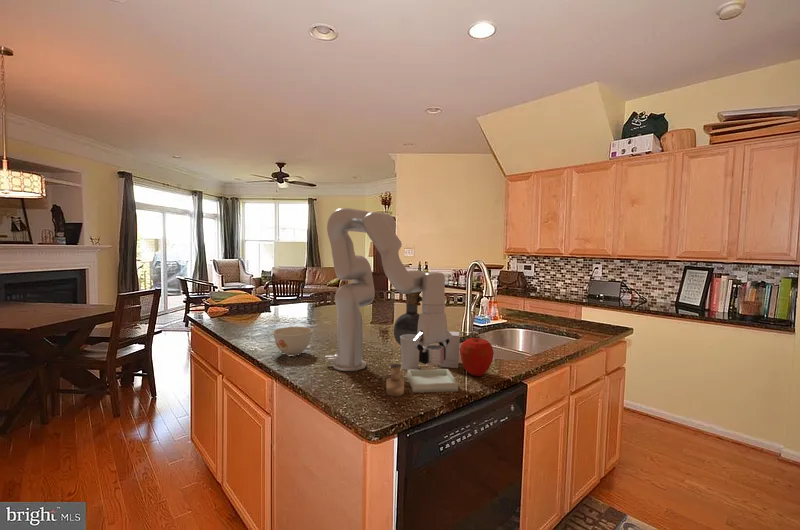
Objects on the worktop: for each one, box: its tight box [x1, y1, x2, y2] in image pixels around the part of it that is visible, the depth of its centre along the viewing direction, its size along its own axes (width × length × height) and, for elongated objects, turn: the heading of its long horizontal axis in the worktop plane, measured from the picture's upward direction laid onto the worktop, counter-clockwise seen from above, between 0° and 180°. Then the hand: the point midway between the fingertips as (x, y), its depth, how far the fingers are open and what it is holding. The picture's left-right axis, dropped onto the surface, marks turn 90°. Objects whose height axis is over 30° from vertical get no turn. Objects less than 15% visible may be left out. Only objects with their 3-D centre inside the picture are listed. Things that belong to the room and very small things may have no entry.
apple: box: [459, 336, 495, 377], centre depth 138 cm, size 12×12×14 cm
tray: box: [406, 368, 459, 393], centre depth 129 cm, size 15×15×2 cm
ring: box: [423, 343, 444, 366], centre depth 129 cm, size 9×7×5 cm
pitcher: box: [393, 291, 422, 346], centre depth 167 cm, size 11×19×30 cm, turn 73°
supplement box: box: [438, 330, 461, 369], centre depth 150 cm, size 7×7×13 cm
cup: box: [400, 334, 420, 371], centre depth 145 cm, size 8×8×12 cm
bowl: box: [272, 326, 314, 356], centre depth 160 cm, size 16×16×10 cm
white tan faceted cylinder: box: [385, 363, 405, 397], centre depth 120 cm, size 6×6×9 cm
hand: (432, 360), depth 128 cm, fingers closed on ring, 7 cm apart
